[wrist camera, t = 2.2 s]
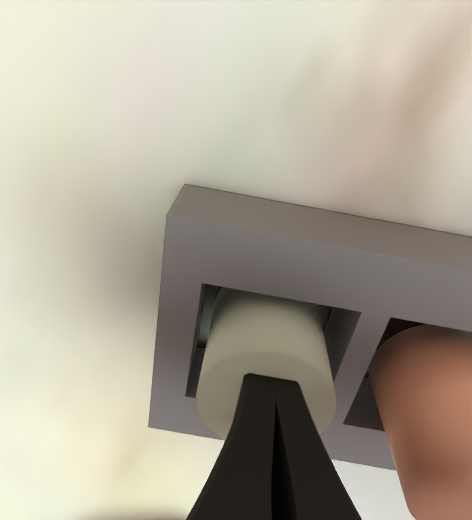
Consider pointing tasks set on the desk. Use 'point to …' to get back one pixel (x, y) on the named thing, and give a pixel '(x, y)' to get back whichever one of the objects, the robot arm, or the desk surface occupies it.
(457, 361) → the button terracotta
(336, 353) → the panel
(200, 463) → the desk surface
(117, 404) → the desk surface
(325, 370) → the button sage
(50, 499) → the desk surface
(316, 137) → the desk surface
